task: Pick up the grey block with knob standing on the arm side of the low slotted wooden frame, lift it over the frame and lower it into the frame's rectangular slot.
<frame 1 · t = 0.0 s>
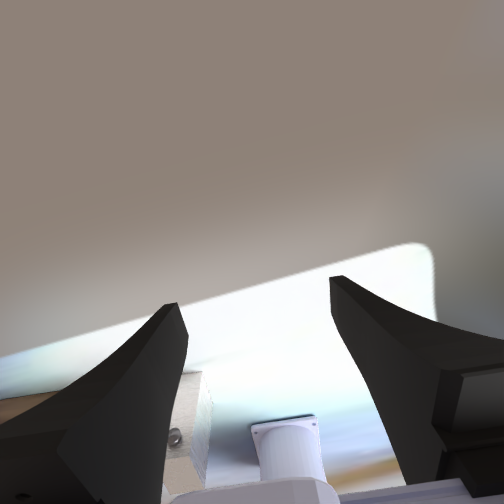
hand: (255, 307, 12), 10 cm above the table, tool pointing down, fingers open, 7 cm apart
slotted wooden frame: (89, 421, 30), on the table
grey block with knob: (194, 389, 29), on the table
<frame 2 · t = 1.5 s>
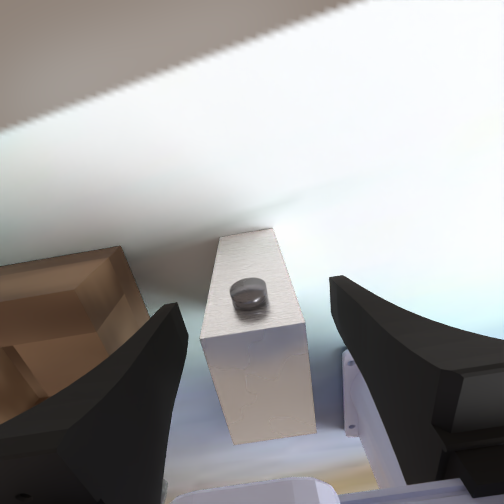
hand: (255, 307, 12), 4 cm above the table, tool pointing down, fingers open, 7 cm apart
slotted wooden frame: (62, 338, 17), on the table
grey block with knob: (253, 271, 16), on the table
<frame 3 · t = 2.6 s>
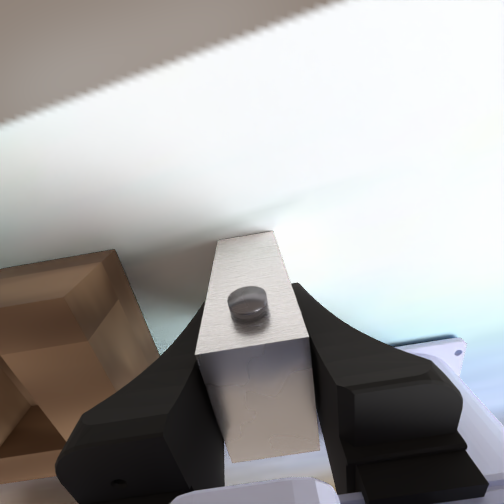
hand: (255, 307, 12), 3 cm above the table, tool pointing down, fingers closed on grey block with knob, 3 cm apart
slotted wooden frame: (55, 344, 17), on the table
grey block with knob: (253, 275, 15), on the table, touching gripper
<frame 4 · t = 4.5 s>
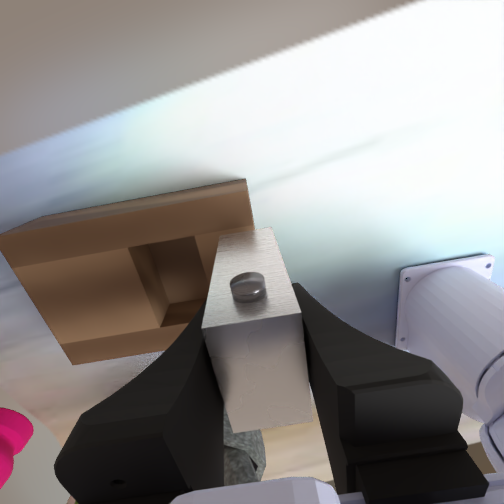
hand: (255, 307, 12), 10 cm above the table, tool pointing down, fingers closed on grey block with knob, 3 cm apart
pepper mill: (6, 422, 30), on the table
slotted wooden frame: (187, 257, 22), on the table
grey block with knob: (252, 269, 16), point 6 cm above the table, touching gripper
mortar and pestle: (221, 395, 30), on the table
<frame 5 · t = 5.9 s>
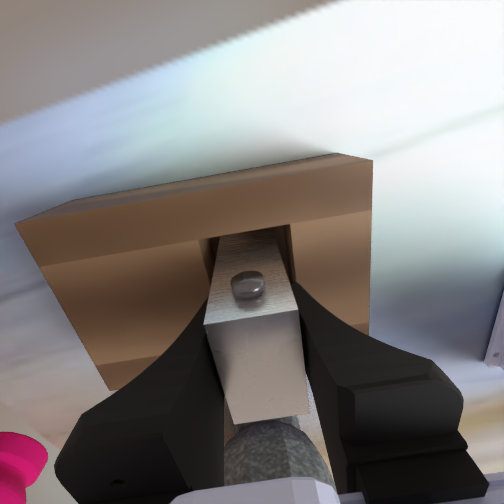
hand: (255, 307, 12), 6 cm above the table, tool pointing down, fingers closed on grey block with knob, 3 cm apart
pepper mill: (16, 448, 26), on the table
slotted wooden frame: (251, 254, 18), on the table
grey block with knob: (252, 267, 17), point 1 cm above the table, touching gripper, slotted wooden frame
mortar and pestle: (271, 417, 25), on the table
when the fingers open (6 cm above the table, at t = 6.4 s): grey block with knob stays where it is, resting on slotted wooden frame.
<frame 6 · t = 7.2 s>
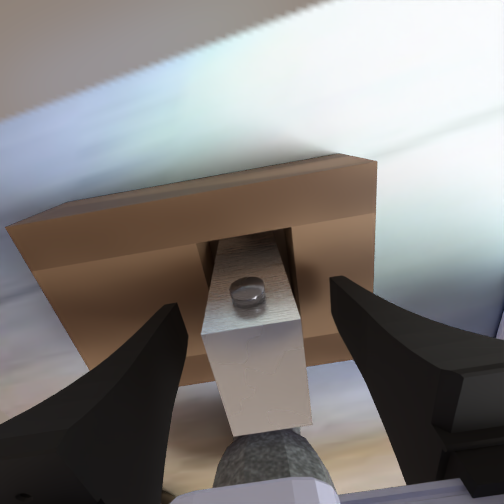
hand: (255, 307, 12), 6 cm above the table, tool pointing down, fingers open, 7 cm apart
slotted wooden frame: (251, 257, 17), on the table
grey block with knob: (252, 270, 16), point 1 cm above the table, touching slotted wooden frame
mortar and pestle: (271, 422, 25), on the table
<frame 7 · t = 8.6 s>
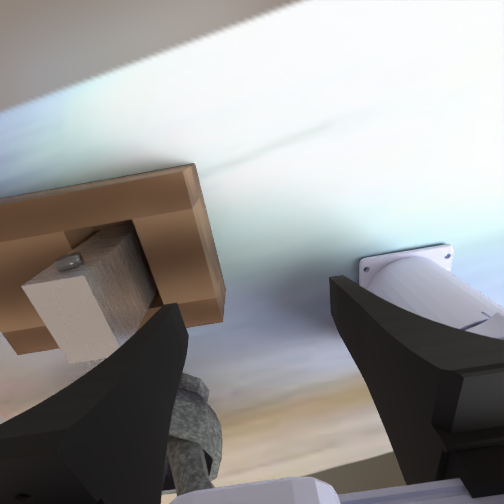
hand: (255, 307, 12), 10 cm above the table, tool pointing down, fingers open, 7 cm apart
slotted wooden frame: (140, 245, 22), on the table
grey block with knob: (134, 255, 20), point 1 cm above the table, touching slotted wooden frame
mortar and pestle: (185, 388, 29), on the table
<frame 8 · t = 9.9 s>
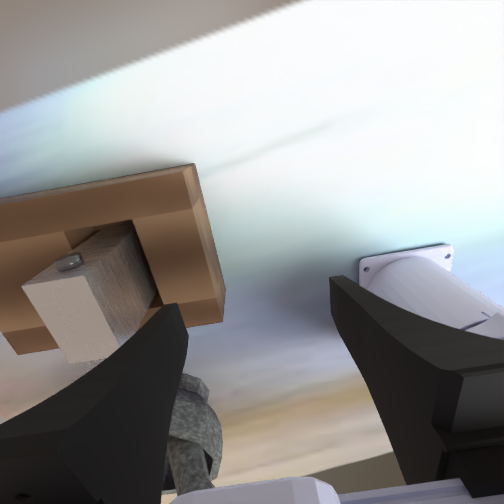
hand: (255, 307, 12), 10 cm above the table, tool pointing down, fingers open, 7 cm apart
slotted wooden frame: (140, 245, 22), on the table
grey block with knob: (134, 255, 20), point 1 cm above the table, touching slotted wooden frame
mortar and pestle: (185, 388, 29), on the table
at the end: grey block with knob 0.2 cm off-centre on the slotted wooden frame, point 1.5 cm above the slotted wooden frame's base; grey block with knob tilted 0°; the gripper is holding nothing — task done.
